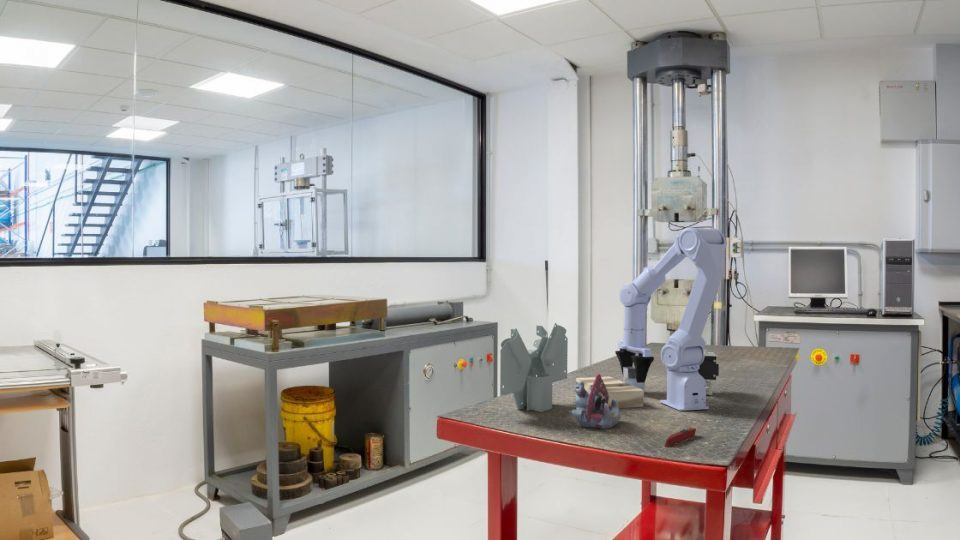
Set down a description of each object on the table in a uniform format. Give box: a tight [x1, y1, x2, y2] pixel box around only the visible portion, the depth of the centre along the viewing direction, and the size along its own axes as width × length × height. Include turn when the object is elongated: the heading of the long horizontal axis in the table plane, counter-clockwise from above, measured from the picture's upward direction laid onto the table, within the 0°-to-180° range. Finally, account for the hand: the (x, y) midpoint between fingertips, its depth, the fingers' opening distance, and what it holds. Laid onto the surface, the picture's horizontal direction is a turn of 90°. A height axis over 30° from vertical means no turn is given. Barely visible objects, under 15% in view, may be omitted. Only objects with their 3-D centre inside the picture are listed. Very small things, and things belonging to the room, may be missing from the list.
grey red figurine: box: [568, 373, 621, 430], centre depth 134 cm, size 11×11×12 cm
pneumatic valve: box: [698, 348, 720, 396], centre depth 164 cm, size 6×12×12 cm, turn 163°
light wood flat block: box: [575, 376, 645, 409], centre depth 157 cm, size 18×10×4 cm, turn 14°
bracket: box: [499, 322, 569, 413], centre depth 148 cm, size 28×7×20 cm, turn 139°
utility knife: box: [664, 427, 697, 448], centre depth 122 cm, size 12×1×2 cm, turn 133°
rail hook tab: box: [622, 366, 646, 395], centre depth 164 cm, size 2×5×7 cm, turn 104°
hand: (633, 379), depth 165 cm, fingers open, 7 cm apart
